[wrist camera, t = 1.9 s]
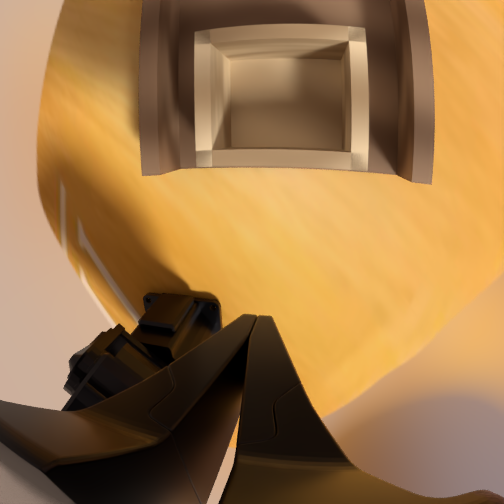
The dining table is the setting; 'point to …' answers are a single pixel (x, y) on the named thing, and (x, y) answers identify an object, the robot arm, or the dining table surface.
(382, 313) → the dining table surface
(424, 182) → the bay
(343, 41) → the box
